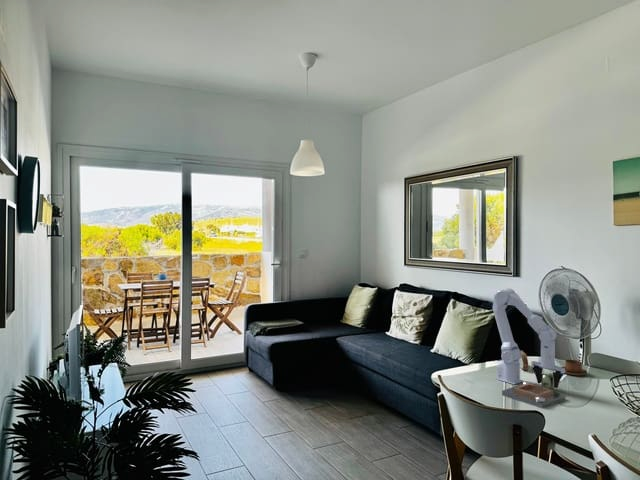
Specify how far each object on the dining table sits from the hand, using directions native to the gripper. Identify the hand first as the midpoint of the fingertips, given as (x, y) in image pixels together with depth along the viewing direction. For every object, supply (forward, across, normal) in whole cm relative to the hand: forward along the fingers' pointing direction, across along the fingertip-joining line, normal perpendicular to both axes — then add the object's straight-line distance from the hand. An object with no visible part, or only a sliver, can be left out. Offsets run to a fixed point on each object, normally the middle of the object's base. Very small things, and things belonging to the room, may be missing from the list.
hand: (547, 385), depth 200 cm
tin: (+2, +26, -22) cm, 34 cm away
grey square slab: (+2, -2, +15) cm, 15 cm away
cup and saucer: (+2, +6, -35) cm, 35 cm away
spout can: (+2, 0, 0) cm, 2 cm away
